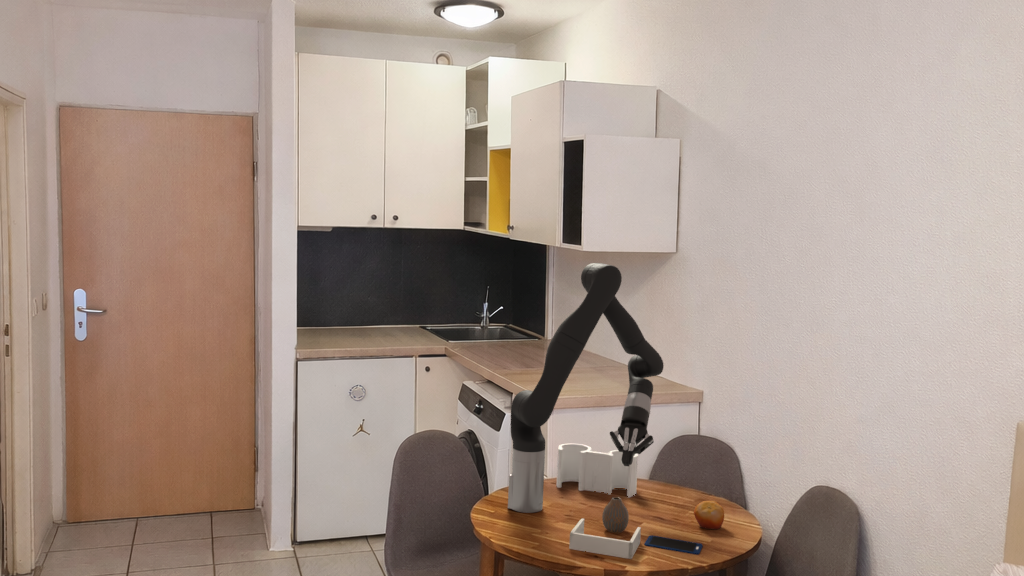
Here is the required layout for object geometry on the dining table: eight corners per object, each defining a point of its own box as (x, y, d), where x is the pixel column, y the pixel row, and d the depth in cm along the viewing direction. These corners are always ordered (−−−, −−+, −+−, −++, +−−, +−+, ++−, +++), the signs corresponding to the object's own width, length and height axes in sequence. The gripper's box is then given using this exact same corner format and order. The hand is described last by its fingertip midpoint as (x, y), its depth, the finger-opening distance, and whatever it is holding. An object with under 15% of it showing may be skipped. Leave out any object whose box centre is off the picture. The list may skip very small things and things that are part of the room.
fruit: (725, 517, 229) (725, 497, 224) (722, 539, 223) (722, 519, 218) (696, 513, 231) (695, 493, 227) (692, 535, 225) (692, 515, 221)
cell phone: (698, 556, 204) (699, 553, 204) (643, 546, 209) (643, 544, 209) (703, 546, 211) (703, 543, 211) (649, 537, 216) (649, 534, 216)
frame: (569, 548, 204) (569, 532, 204) (580, 533, 216) (581, 518, 215) (631, 559, 199) (632, 542, 199) (640, 542, 210) (640, 527, 210)
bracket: (639, 490, 256) (641, 451, 255) (632, 499, 247) (634, 459, 246) (562, 478, 264) (563, 441, 264) (553, 487, 255) (554, 448, 255)
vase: (598, 532, 217) (600, 499, 216) (605, 524, 223) (607, 492, 223) (624, 537, 214) (625, 504, 214) (630, 528, 221) (632, 496, 220)
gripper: (612, 402, 238) (600, 455, 227) (657, 406, 233) (648, 460, 223) (615, 416, 243) (604, 468, 233) (660, 421, 239) (651, 474, 228)
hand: (626, 464), depth 228 cm, fingers closed
